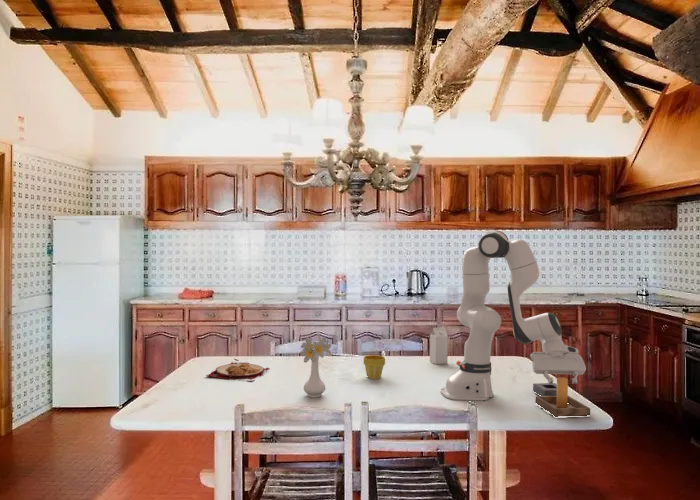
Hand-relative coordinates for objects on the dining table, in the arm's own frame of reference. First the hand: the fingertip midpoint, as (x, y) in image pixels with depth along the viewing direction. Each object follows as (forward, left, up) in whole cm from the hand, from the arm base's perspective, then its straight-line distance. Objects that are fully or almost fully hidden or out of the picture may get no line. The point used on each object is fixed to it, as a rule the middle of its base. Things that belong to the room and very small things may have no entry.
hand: (563, 382), depth 205 cm
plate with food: (-130, +68, -12) cm, 147 cm away
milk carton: (-26, +81, -12) cm, 85 cm away
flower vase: (-96, +28, -12) cm, 100 cm away
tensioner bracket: (+5, +20, -11) cm, 23 cm away
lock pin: (0, +1, -10) cm, 10 cm away
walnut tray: (0, +1, -11) cm, 11 cm away
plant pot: (-66, +55, -12) cm, 86 cm away
